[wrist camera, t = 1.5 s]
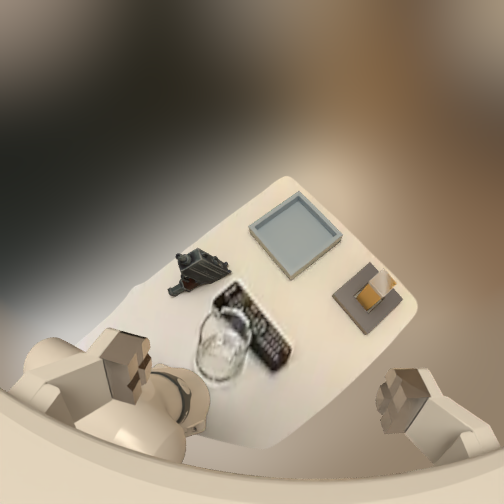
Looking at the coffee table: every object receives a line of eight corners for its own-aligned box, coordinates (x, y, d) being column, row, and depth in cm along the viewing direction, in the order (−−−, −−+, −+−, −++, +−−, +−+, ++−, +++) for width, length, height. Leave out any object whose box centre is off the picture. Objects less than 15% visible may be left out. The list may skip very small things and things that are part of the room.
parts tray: (290, 280, 70) (291, 275, 66) (250, 232, 76) (248, 226, 72) (340, 241, 72) (342, 234, 69) (298, 198, 78) (299, 190, 75)
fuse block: (365, 335, 63) (367, 333, 61) (332, 296, 67) (333, 293, 65) (400, 301, 64) (402, 299, 63) (367, 265, 69) (369, 262, 67)
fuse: (366, 311, 65) (383, 297, 53) (355, 298, 66) (369, 281, 54) (378, 300, 65) (397, 283, 53) (367, 286, 67) (383, 267, 55)
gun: (135, 276, 59) (191, 240, 56) (178, 290, 74) (228, 262, 72) (138, 287, 58) (196, 252, 55) (181, 299, 73) (232, 271, 70)
